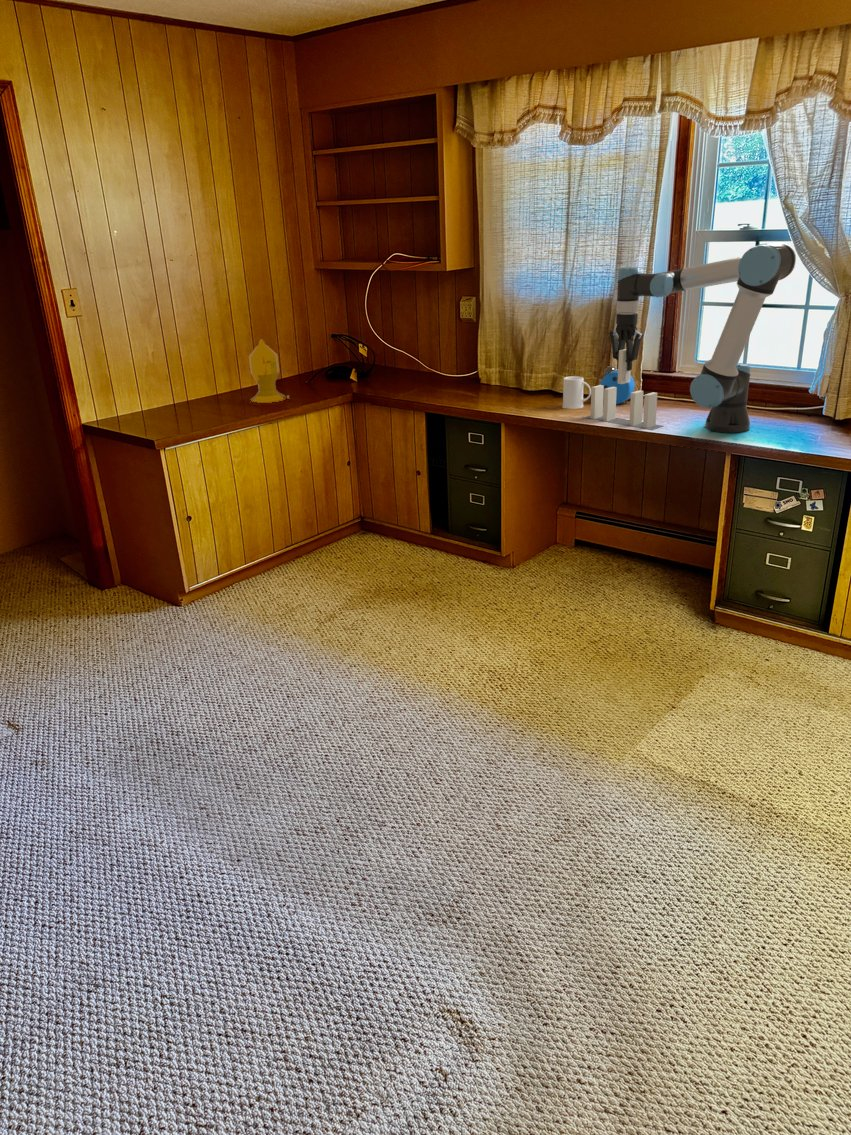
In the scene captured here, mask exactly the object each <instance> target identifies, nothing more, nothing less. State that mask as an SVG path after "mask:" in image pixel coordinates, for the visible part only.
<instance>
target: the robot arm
mask: <svg viewBox="0 0 851 1135" xmlns="http://www.w3.org/2000/svg"><path fill="white" fill-rule="evenodd" d="M796 264H797V254H796V251H795V249H793V247H792V246H791V245H789V244H787V243H785V242H777V241H776V242H772V243H760V244H758V245H755V246H753V247H751V248H749V249H748V250H746V251H745V252H744V254H742V256H738V257H734V258H733V257H732V258H729V259H725V260H724V259H723V260H719V261H714V262H713V261H712V262H708V263H705V264H704V263H703V264H699V265H694V266H688V267H685V268H679V269H673V270H669V271H664V272H657V273H642V272H641V268H640V267H638V266H637V267H636V266H625V267H621V268H619V270H618V275H617V281H616V282H617V296H616V309H615V311H616V315H615V316H616V317H615V324H616V327H615V329H614V330H611V331H609V335H610V340H611V341H610V342H611V349H612V350H611V352H612V354H611V355H612V359H613V360H614V359H615V360H616V370H618V363H619V350H623V349H626V361H625V364H624V380H627V379H630V370H631V371H632V369H633V362H634V361H636V360H638V358H639V357H638V356H639V351H640V347H641V346H640V345H641V340H642V338H643V336H644V333H643V332H640V331H639V330H638V328H637V324H638V320H639V319H638V317H639V315H638V312H639V297H654V298H663V297H664V298H665V297H666V298H667V297H668V296H670V294H675V293H680V292H685V291H691V290H696V289H701V288H707V287H712V286H717V285H718V286H719V285H722V284H723V285H725V284H730V283H735V282H736V286H737V287H738V292H737V294H736V297H735V299H734V302H733V305H732V307H731V309H730V312H729V314H728V317H727V319H726V321H725V324H724V327H723V330H722V332H721V334H720V336H719V339H718V341H717V344H716V346H715V348H714V351H713V354H712V357H711V359H709V360H707V361H705V362H704V364H703V366H702V369H701V372H700V374H699V375H697V376H695V378H694V379H693V380H692V381H691V383H690V386H689V392H690V396H691V399H692V400H693V401H694V402H695V404H696V405H697V406H699V407H702V408H705V409H710V410H709V413H708V414H707V417H706V420H705V424H704V427H705V428H706V429H707V430H710V431H711V432H718V433H743V432H747V431H749V430H750V425H751V420H750V416H749V412H748V411H749V410H748V408H747V406H748V404H747V403H748V395H749V387H750V377H751V366H750V365H749V364H747V363H741V362H740V360H741V357H742V355H743V353H744V350H745V347H746V345H747V343H748V340H749V338H750V335H751V333H752V331H753V328H754V325H755V324H756V321H757V319H758V316H759V314H760V312H761V309H762V308H763V305H764V303H765V300H766V298H768V297H770V296H771V295H773V294H774V292H775V289H776V287H777V284H778V282H779V281H782V280H783V279H785V278H787V277H788V276H790V275H791V274H792V272H793V271H794V269H795V268H796ZM739 362H740V363H739Z"/></svg>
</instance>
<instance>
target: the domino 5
mask: <svg viewBox="0 0 851 1135" xmlns="http://www.w3.org/2000/svg"><path fill="white" fill-rule="evenodd" d="M643 404H644V405H643V417H642V422H643V428H649V427H652V426H655V425H657V424H656V423H657V422H656V420H657V406H658V392H653V391H652V392H650V393H647V394H646V393H645V394H644V399H643Z"/></svg>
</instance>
